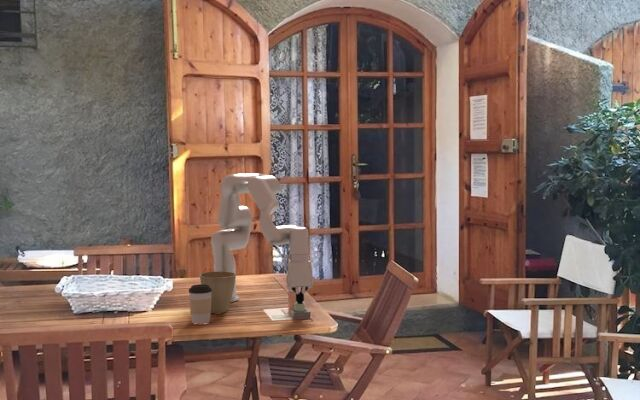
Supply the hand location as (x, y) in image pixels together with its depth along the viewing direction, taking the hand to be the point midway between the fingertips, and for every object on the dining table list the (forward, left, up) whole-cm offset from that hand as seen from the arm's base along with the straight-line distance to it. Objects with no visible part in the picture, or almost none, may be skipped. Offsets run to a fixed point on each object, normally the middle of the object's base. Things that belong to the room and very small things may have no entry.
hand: (299, 303), depth 299 cm
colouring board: (-4, +7, -6) cm, 10 cm away
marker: (-1, +10, -5) cm, 11 cm away
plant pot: (-30, +21, -6) cm, 37 cm away
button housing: (0, 0, -5) cm, 5 cm away
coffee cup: (-39, +5, -6) cm, 40 cm away
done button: (0, 0, -5) cm, 5 cm away
